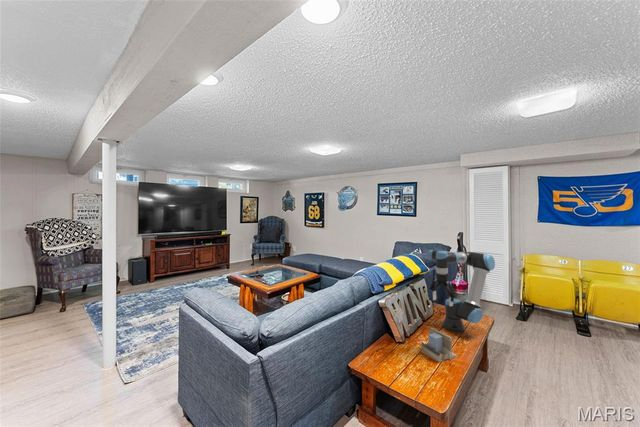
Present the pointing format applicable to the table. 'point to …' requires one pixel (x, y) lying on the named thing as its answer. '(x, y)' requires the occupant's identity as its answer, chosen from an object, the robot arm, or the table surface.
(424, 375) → the table surface
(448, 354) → the grey slotted stand
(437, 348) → the grey rectangular block
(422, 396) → the table surface
